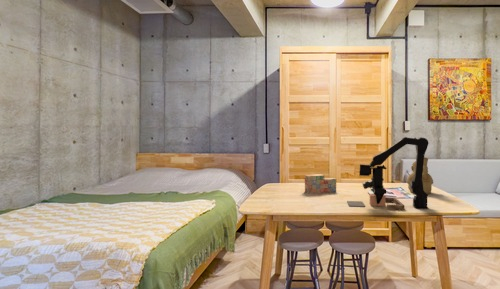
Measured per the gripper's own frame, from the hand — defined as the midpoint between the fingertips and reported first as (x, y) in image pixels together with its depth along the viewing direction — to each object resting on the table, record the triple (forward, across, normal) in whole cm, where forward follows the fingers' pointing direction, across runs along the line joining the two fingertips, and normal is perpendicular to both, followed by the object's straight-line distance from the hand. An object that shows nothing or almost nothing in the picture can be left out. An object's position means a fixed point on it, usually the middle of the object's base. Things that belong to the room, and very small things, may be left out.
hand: (377, 202), depth 202 cm
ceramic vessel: (+1, -42, +36) cm, 55 cm away
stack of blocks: (+2, -37, -32) cm, 49 cm away
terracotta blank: (+1, 0, 0) cm, 1 cm away
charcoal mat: (+1, 0, -12) cm, 12 cm away
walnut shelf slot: (+1, 0, +8) cm, 8 cm away
